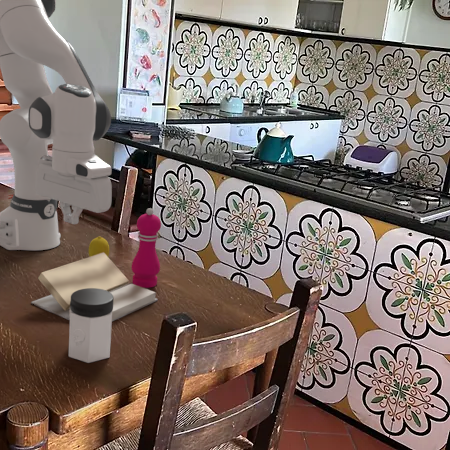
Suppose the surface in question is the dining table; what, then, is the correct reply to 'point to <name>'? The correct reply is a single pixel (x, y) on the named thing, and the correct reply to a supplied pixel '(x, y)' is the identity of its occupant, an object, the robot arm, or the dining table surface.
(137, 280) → the pepper mill
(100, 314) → the jar
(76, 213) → the robot arm
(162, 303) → the dining table surface
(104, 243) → the lemon
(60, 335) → the dining table surface
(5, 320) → the dining table surface
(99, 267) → the birch plank
